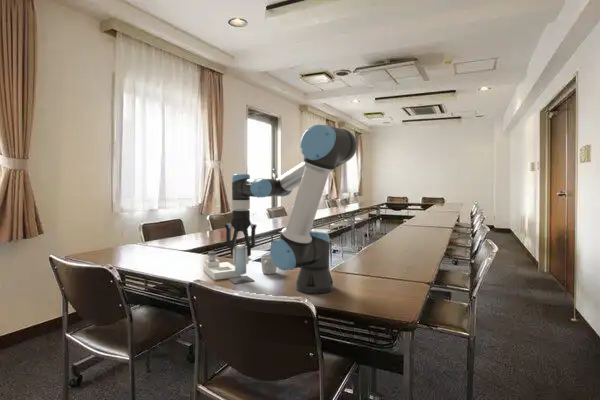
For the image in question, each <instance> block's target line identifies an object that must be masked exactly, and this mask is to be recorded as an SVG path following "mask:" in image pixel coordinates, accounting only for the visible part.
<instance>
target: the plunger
mask: <svg viewBox="0 0 600 400" xmlns="http://www.w3.org/2000/svg"><path fill="white" fill-rule="evenodd" d="M207 255H208V260H209V262H212V261H216V259H217V258H216V255H217V252H216V251H208V253H207Z"/></svg>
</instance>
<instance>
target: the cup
mask: <svg viewBox="0 0 600 400" xmlns="http://www.w3.org/2000/svg"><path fill="white" fill-rule="evenodd" d="M260 263H261V272H262V273H263V274H264V275H273V274H276V272H277V269H278V267H277V266H276V265H275V264H274V263H273V261H272V258H271V255H270V254H263V255H261V256H260Z"/></svg>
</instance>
